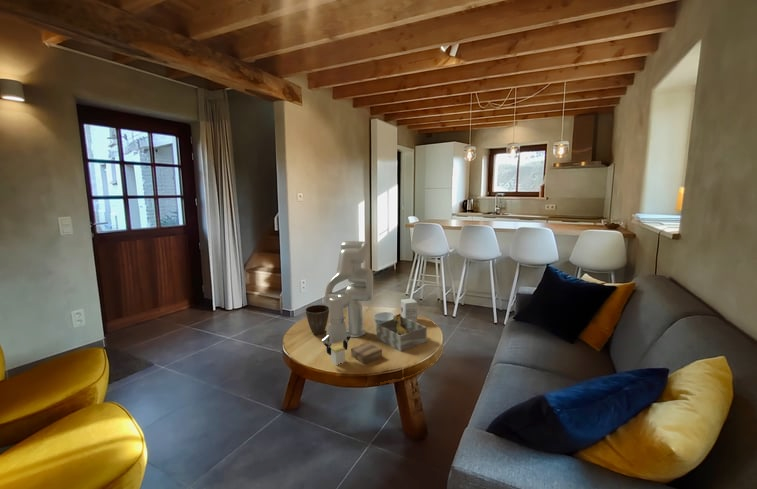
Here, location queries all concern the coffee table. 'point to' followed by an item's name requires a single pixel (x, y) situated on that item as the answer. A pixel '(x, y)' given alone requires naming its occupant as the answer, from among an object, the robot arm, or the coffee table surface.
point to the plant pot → (317, 318)
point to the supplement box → (409, 309)
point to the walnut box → (366, 353)
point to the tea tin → (337, 354)
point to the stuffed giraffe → (399, 325)
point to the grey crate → (401, 342)
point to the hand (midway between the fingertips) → (337, 351)
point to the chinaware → (383, 317)
